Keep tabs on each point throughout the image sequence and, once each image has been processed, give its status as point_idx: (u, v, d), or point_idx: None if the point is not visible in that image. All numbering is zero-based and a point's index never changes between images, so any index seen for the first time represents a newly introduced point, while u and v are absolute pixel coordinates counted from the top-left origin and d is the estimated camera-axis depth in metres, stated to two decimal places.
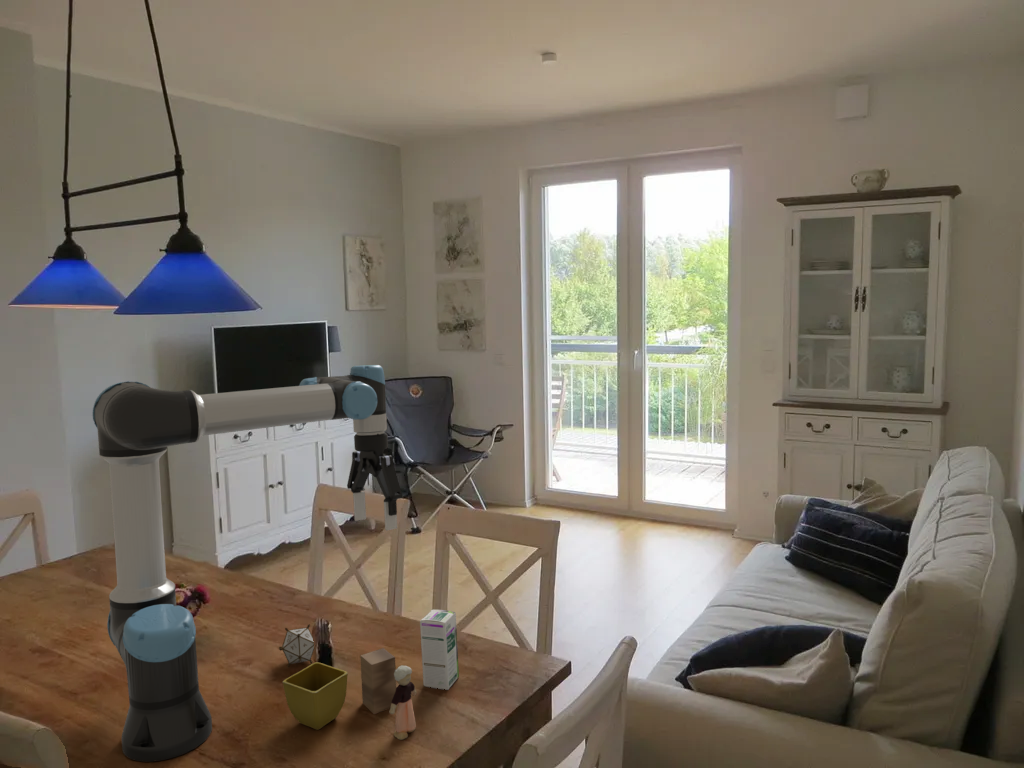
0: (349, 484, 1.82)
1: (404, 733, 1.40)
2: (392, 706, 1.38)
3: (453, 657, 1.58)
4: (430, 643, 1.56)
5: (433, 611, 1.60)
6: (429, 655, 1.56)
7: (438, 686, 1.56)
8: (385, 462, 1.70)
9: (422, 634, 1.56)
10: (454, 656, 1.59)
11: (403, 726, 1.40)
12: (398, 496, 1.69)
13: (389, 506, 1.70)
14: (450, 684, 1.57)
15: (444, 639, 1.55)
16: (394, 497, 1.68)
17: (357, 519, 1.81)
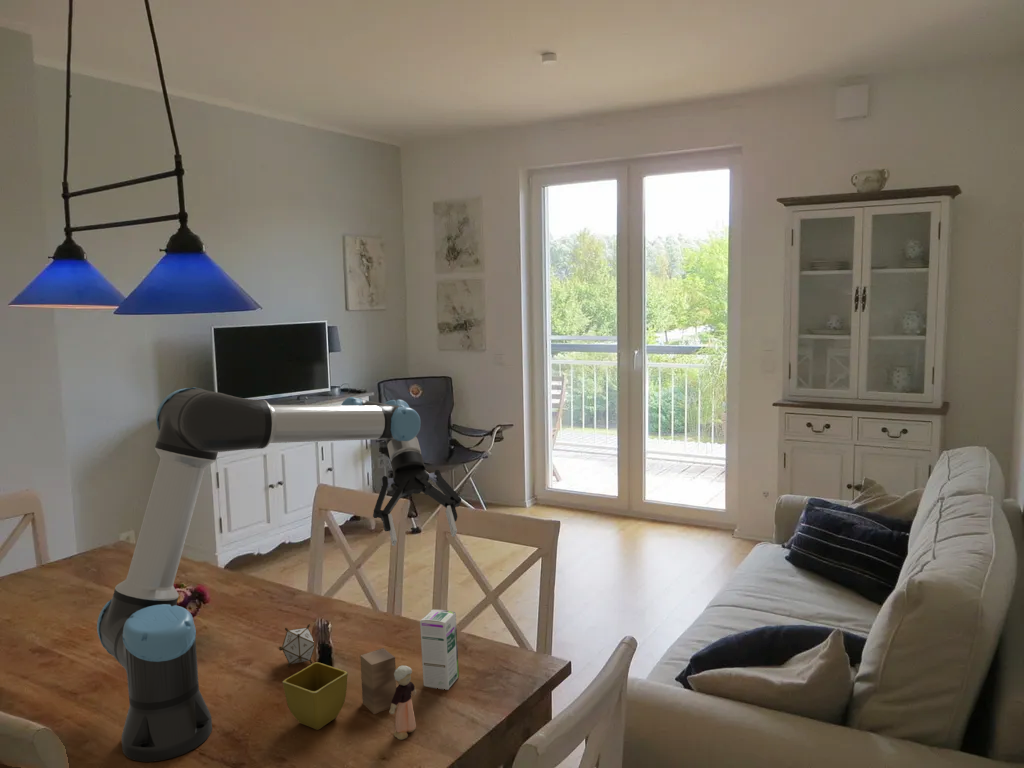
0: (378, 508, 1.71)
1: (404, 733, 1.40)
2: (392, 706, 1.38)
3: (453, 657, 1.58)
4: (430, 643, 1.56)
5: (433, 611, 1.60)
6: (429, 655, 1.56)
7: (438, 686, 1.56)
8: None
9: (422, 634, 1.56)
10: (454, 656, 1.59)
11: (403, 726, 1.40)
12: None
13: (452, 510, 1.75)
14: (450, 684, 1.57)
15: (444, 639, 1.55)
16: (460, 500, 1.77)
17: None
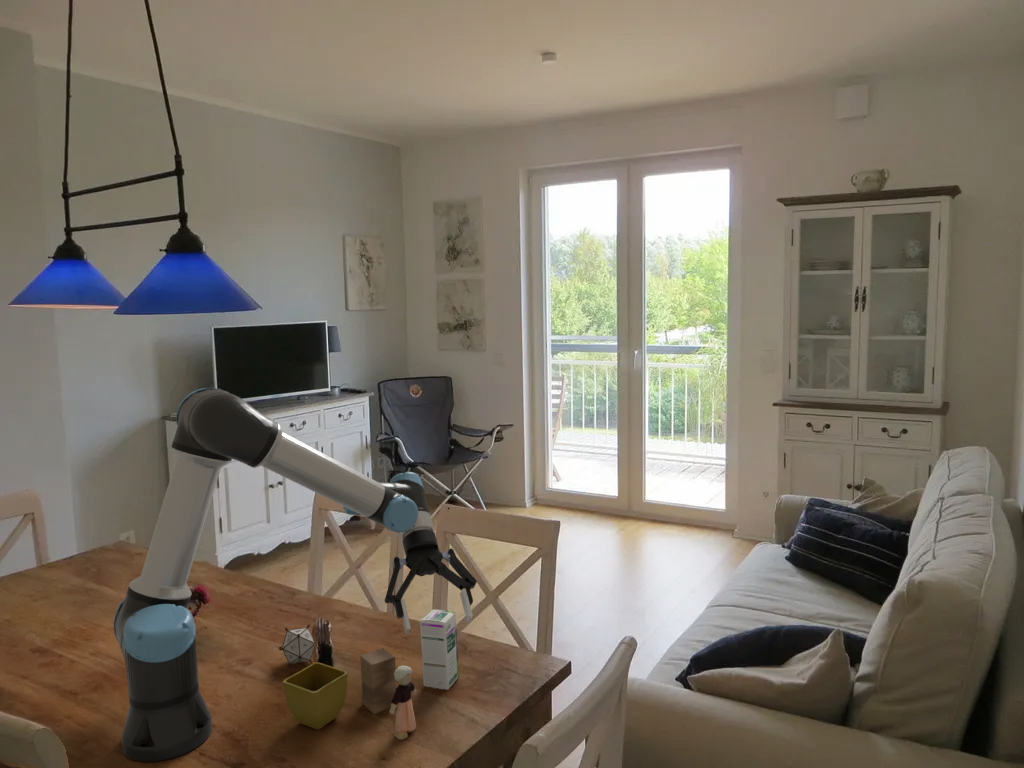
0: (390, 593, 1.62)
1: (404, 733, 1.40)
2: (392, 706, 1.38)
3: (454, 657, 1.58)
4: (430, 643, 1.56)
5: (433, 611, 1.60)
6: (429, 655, 1.56)
7: (438, 686, 1.56)
8: None
9: (422, 634, 1.56)
10: (454, 656, 1.59)
11: (403, 726, 1.40)
12: None
13: (467, 594, 1.67)
14: (450, 684, 1.57)
15: (444, 639, 1.55)
16: None
17: None
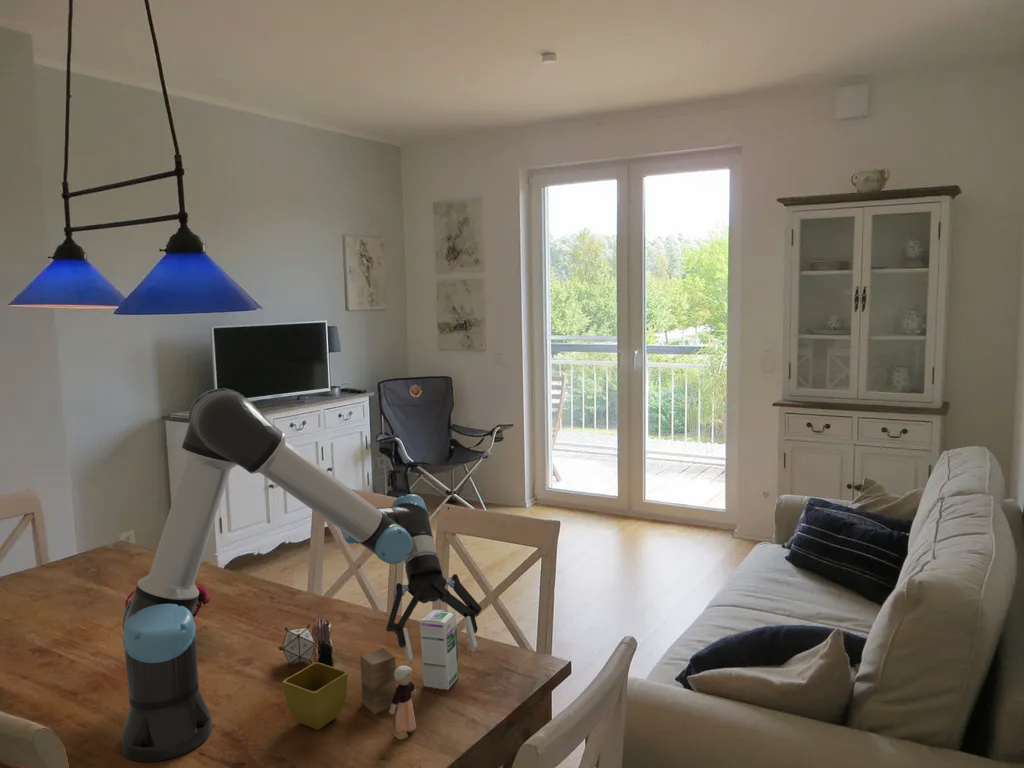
0: (392, 621, 1.57)
1: (404, 733, 1.40)
2: (392, 706, 1.38)
3: (453, 657, 1.58)
4: (430, 643, 1.56)
5: (433, 611, 1.60)
6: (429, 655, 1.56)
7: (438, 686, 1.56)
8: None
9: (422, 634, 1.56)
10: (454, 656, 1.59)
11: (403, 726, 1.40)
12: None
13: (472, 621, 1.62)
14: (450, 684, 1.57)
15: (444, 639, 1.55)
16: (480, 609, 1.64)
17: None
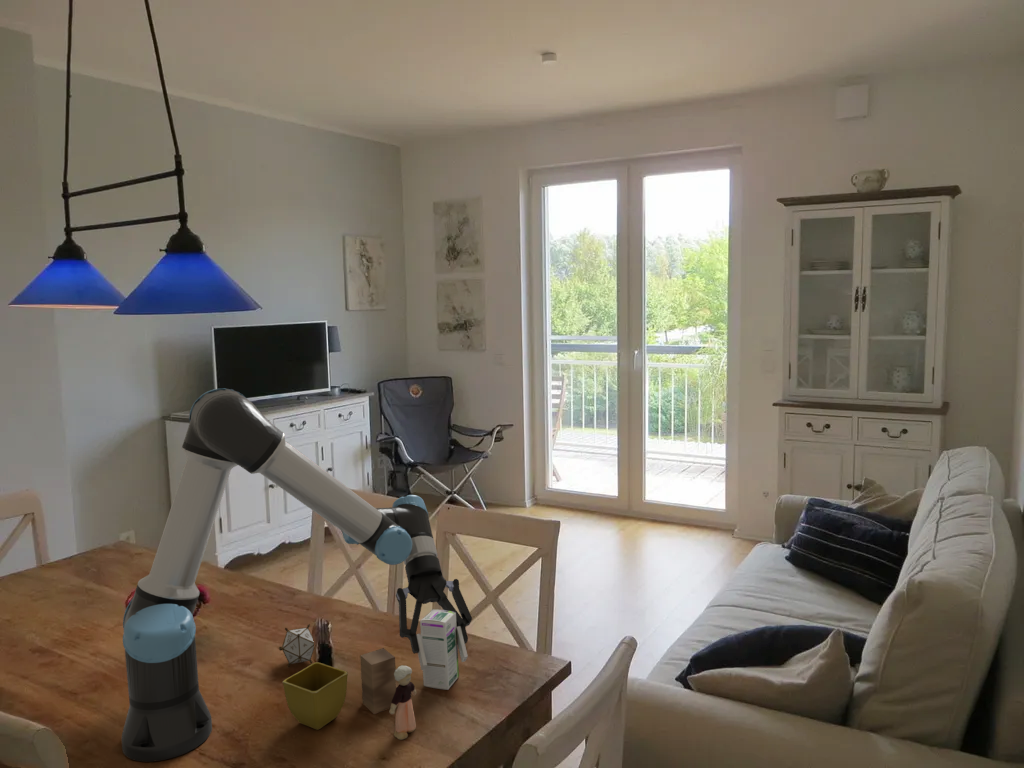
0: (405, 626, 1.57)
1: (404, 733, 1.40)
2: (392, 706, 1.38)
3: (454, 657, 1.58)
4: (430, 643, 1.56)
5: (433, 611, 1.60)
6: (429, 655, 1.56)
7: (438, 686, 1.56)
8: (458, 585, 1.66)
9: (422, 634, 1.56)
10: (454, 656, 1.59)
11: (403, 726, 1.40)
12: None
13: (462, 632, 1.60)
14: (450, 684, 1.57)
15: (444, 639, 1.55)
16: None
17: None
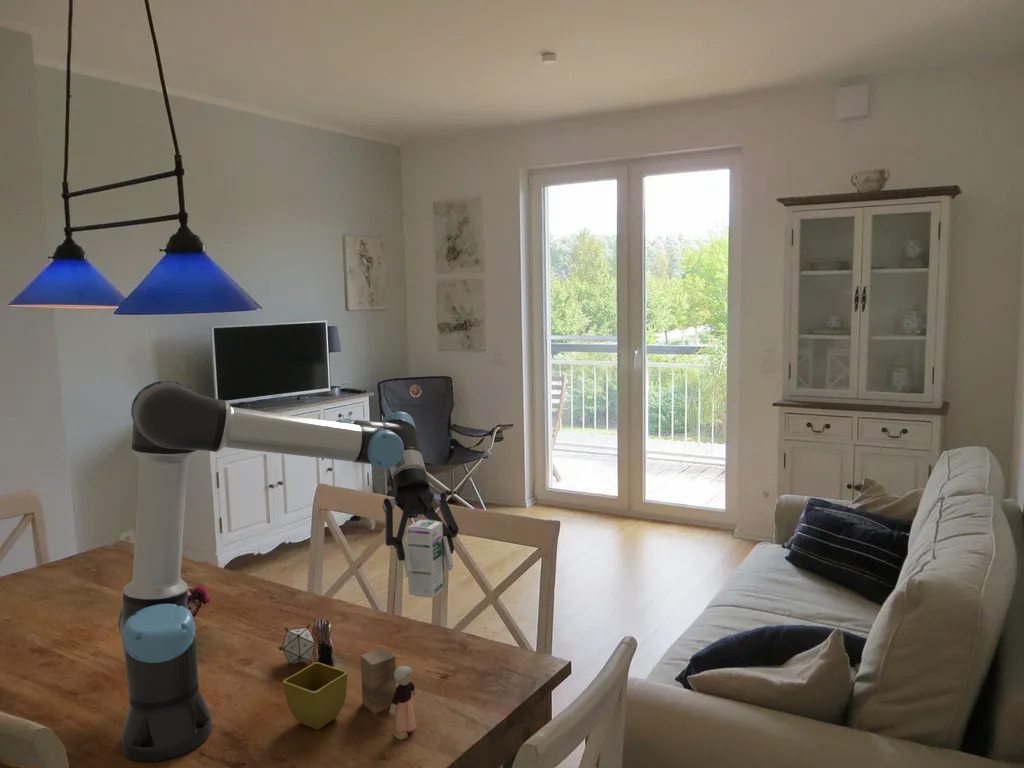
0: (391, 534, 1.57)
1: (404, 733, 1.40)
2: (392, 706, 1.38)
3: (439, 566, 1.58)
4: (416, 550, 1.55)
5: (420, 521, 1.59)
6: (414, 563, 1.56)
7: (423, 594, 1.56)
8: (445, 499, 1.66)
9: (408, 541, 1.56)
10: (440, 566, 1.58)
11: (403, 726, 1.40)
12: None
13: (448, 542, 1.59)
14: (435, 592, 1.56)
15: (430, 546, 1.54)
16: (458, 530, 1.61)
17: None
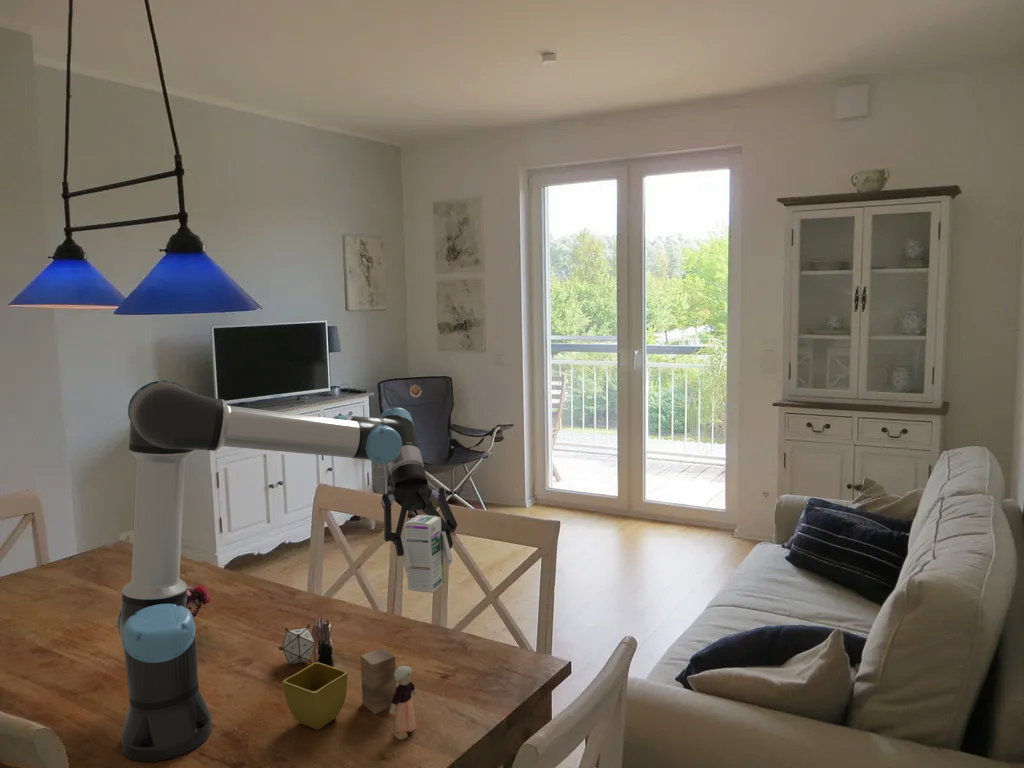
0: (389, 530, 1.57)
1: (404, 733, 1.40)
2: (392, 706, 1.38)
3: (438, 561, 1.58)
4: (415, 545, 1.55)
5: (418, 516, 1.59)
6: (413, 558, 1.56)
7: (422, 589, 1.56)
8: None
9: (407, 537, 1.56)
10: (439, 561, 1.58)
11: (403, 726, 1.40)
12: (455, 528, 1.62)
13: (447, 537, 1.59)
14: (435, 587, 1.56)
15: (429, 541, 1.54)
16: (456, 525, 1.62)
17: None
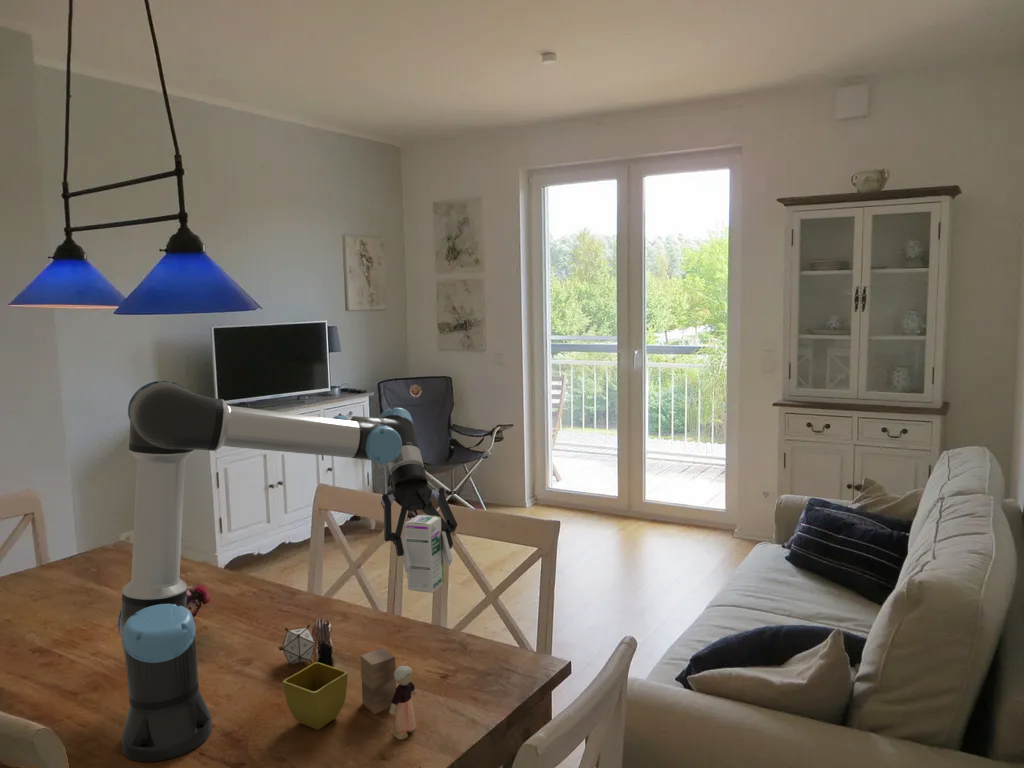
0: (389, 530, 1.57)
1: (404, 733, 1.40)
2: (392, 706, 1.38)
3: (438, 561, 1.58)
4: (415, 545, 1.55)
5: (418, 516, 1.59)
6: (413, 558, 1.56)
7: (422, 589, 1.56)
8: None
9: (407, 537, 1.56)
10: (439, 561, 1.58)
11: (403, 726, 1.40)
12: (455, 528, 1.62)
13: (447, 537, 1.59)
14: (435, 587, 1.56)
15: (429, 541, 1.54)
16: (456, 525, 1.62)
17: None
